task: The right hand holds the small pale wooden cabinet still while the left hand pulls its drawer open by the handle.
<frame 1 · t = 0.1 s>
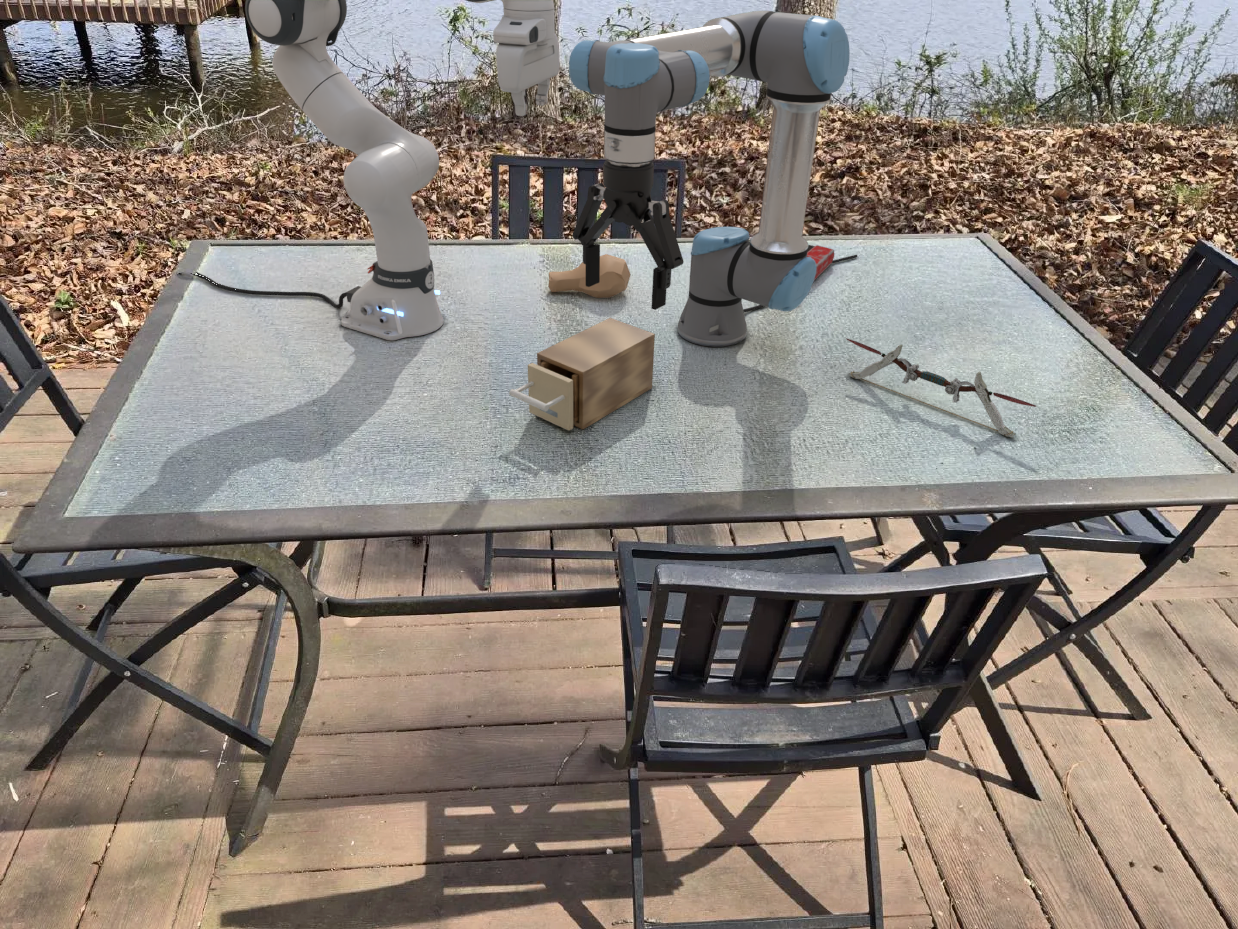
left hand: (531, 109, 161), 48 cm above the table, tool pointing down, fingers open, 8 cm apart
right hand: (624, 295, 141), 28 cm above the table, tool pointing down, fingers open, 13 cm apart
cabinet: (596, 398, 170), on the table
drawer: (574, 383, 162), point 6 cm above the table, slide at 1.9 cm
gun: (781, 275, 225), on the table
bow: (926, 405, 171), on the table
squash: (589, 293, 213), on the table
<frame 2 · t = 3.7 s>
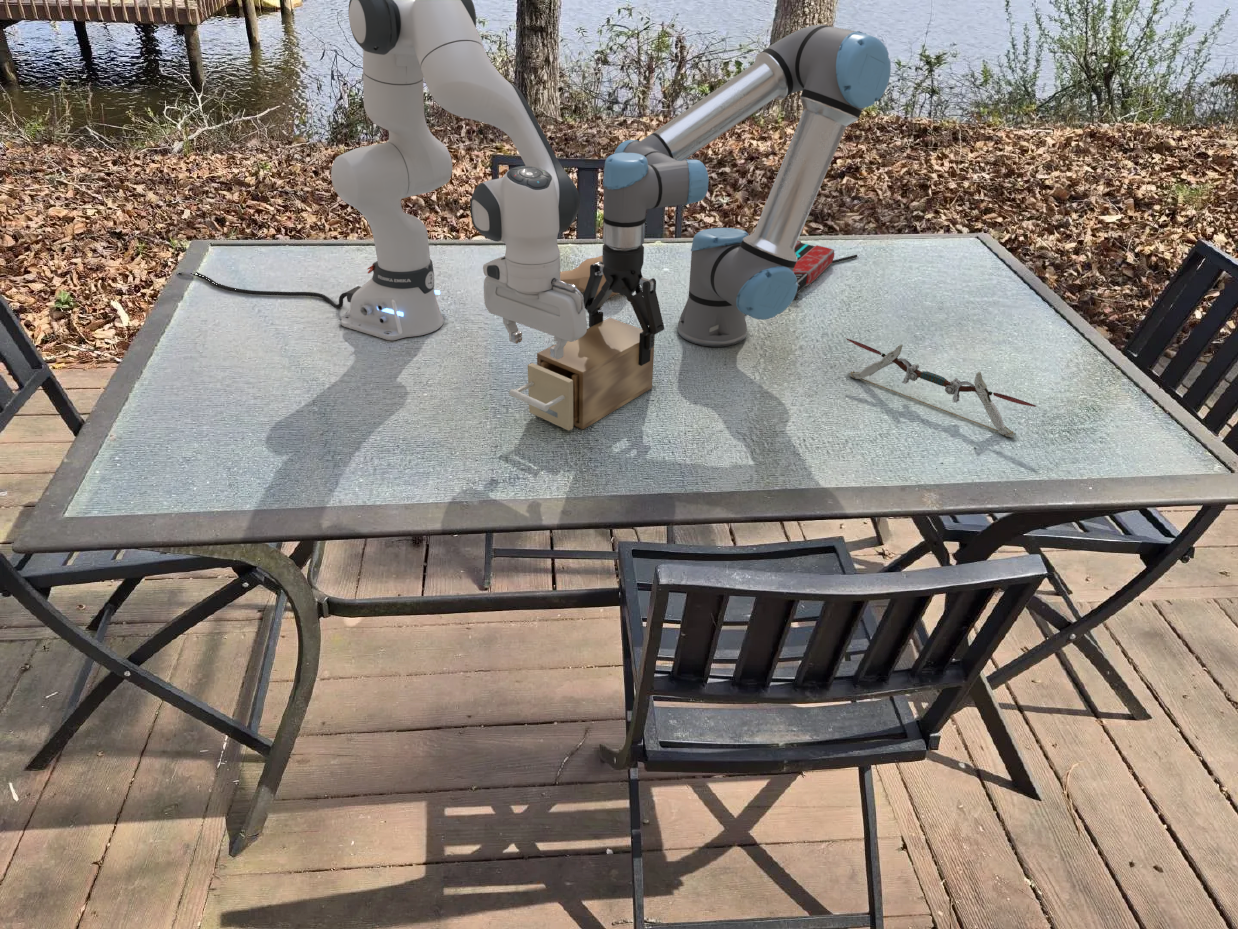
left hand: (536, 349, 150), 16 cm above the table, tool pointing down, fingers open, 8 cm apart
right hand: (620, 353, 170), 7 cm above the table, tool pointing down, fingers closed on cabinet, 11 cm apart
cabinet: (596, 398, 170), on the table, touching right hand
everything else where it was.
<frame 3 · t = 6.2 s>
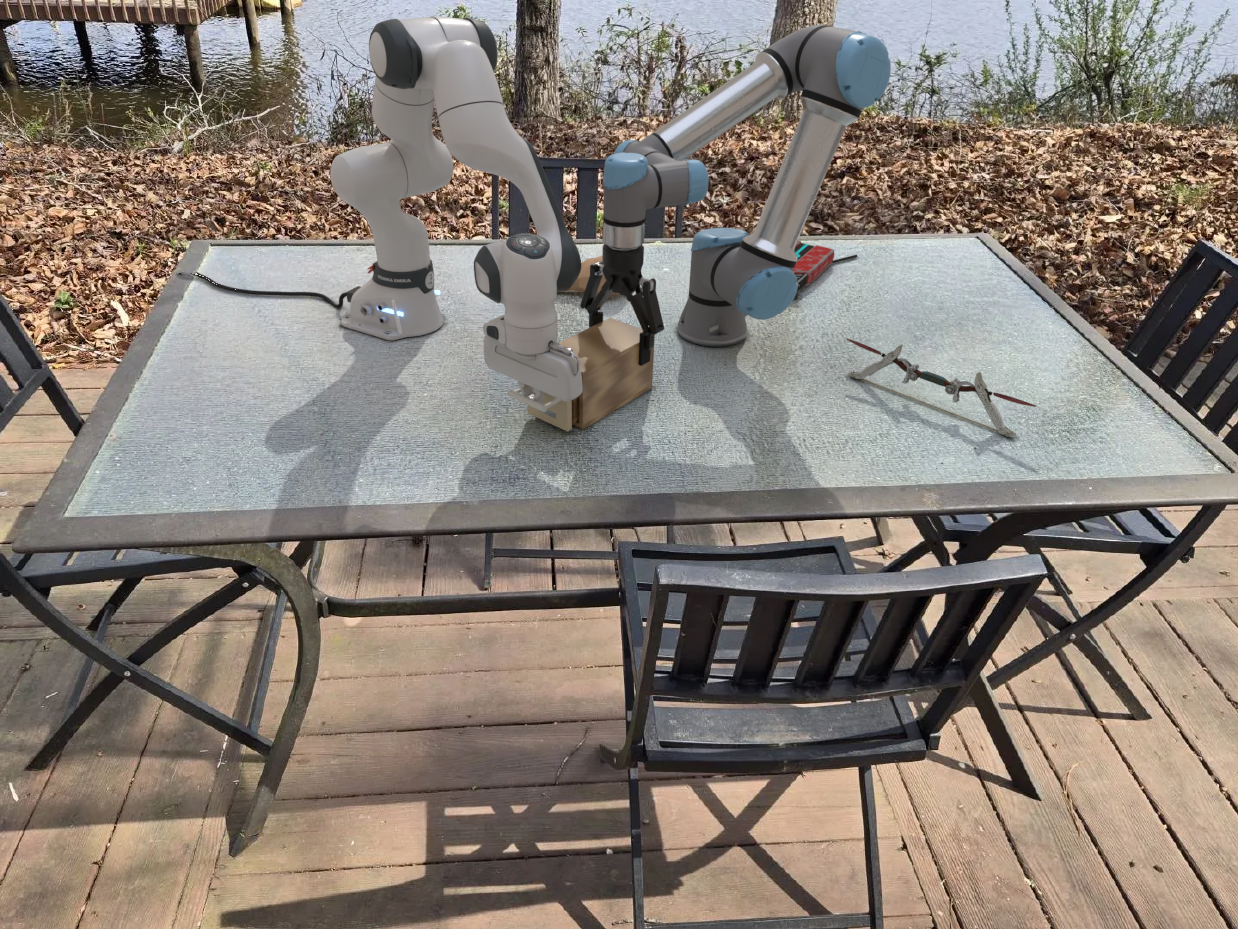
left hand: (533, 405, 155), 6 cm above the table, tool pointing down, fingers closed, pressing on drawer
right hand: (620, 353, 170), 7 cm above the table, tool pointing down, fingers closed on cabinet, 11 cm apart
cabinet: (596, 398, 170), on the table, touching right hand
drawer: (572, 384, 162), point 6 cm above the table, slide at 2.3 cm, touching left hand
everything else where it was.
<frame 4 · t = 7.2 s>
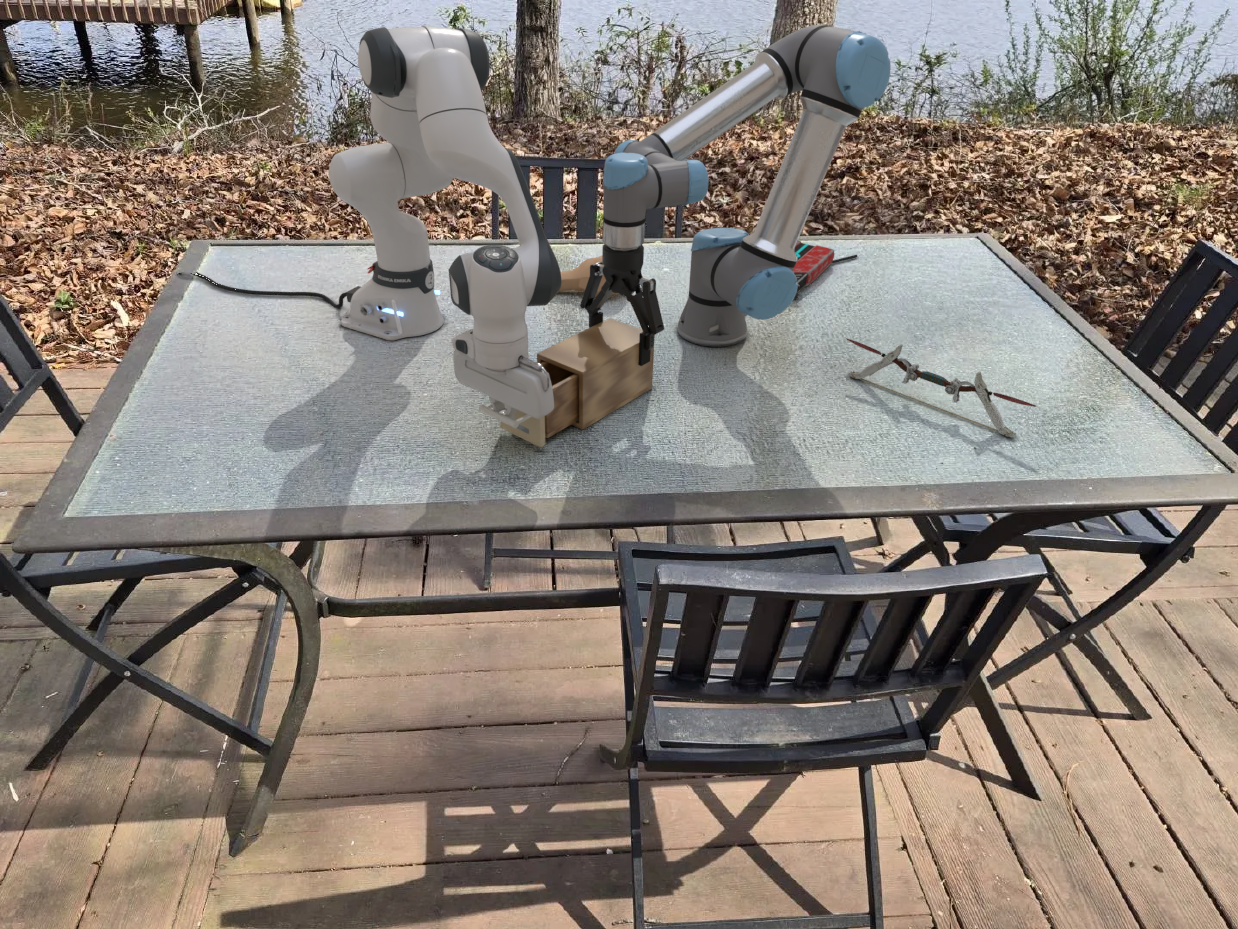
left hand: (505, 420, 150), 6 cm above the table, tool pointing down, fingers closed, pressing on drawer
right hand: (620, 353, 170), 7 cm above the table, tool pointing down, fingers closed on cabinet, 11 cm apart
cabinet: (596, 398, 169), on the table, touching right hand
drawer: (547, 398, 157), point 6 cm above the table, slide at 9.2 cm, touching left hand
everything else where it was.
when the right hand's fingers open (7 cm above the table, at t = 9.1 s): cabinet stays where it is, on the table.
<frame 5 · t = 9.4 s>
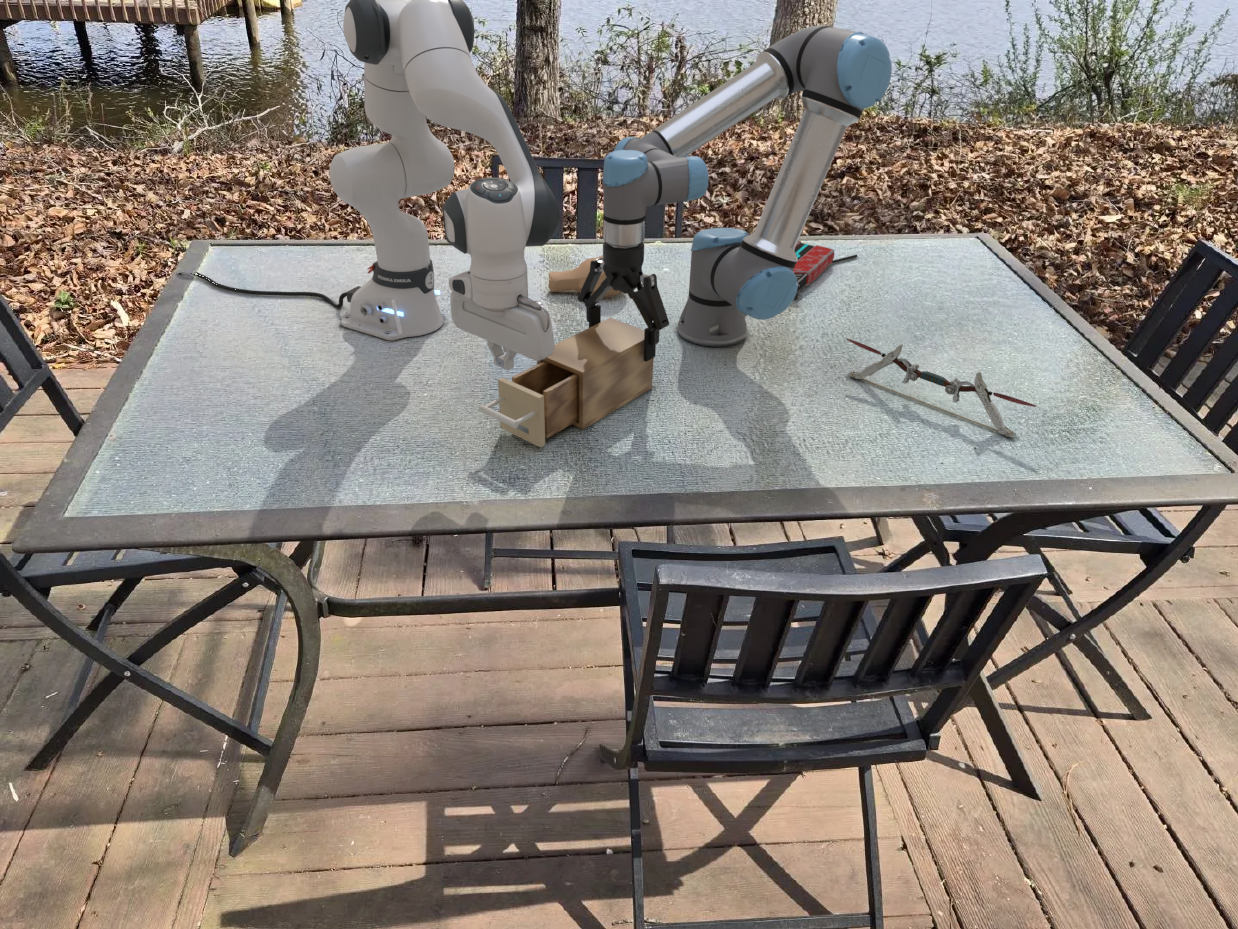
left hand: (504, 366, 145), 16 cm above the table, tool pointing down, fingers closed
right hand: (621, 348, 170), 8 cm above the table, tool pointing down, fingers open, 13 cm apart
cabinet: (596, 398, 169), on the table
drawer: (547, 398, 157), point 6 cm above the table, slide at 9.3 cm
everything else where it was.
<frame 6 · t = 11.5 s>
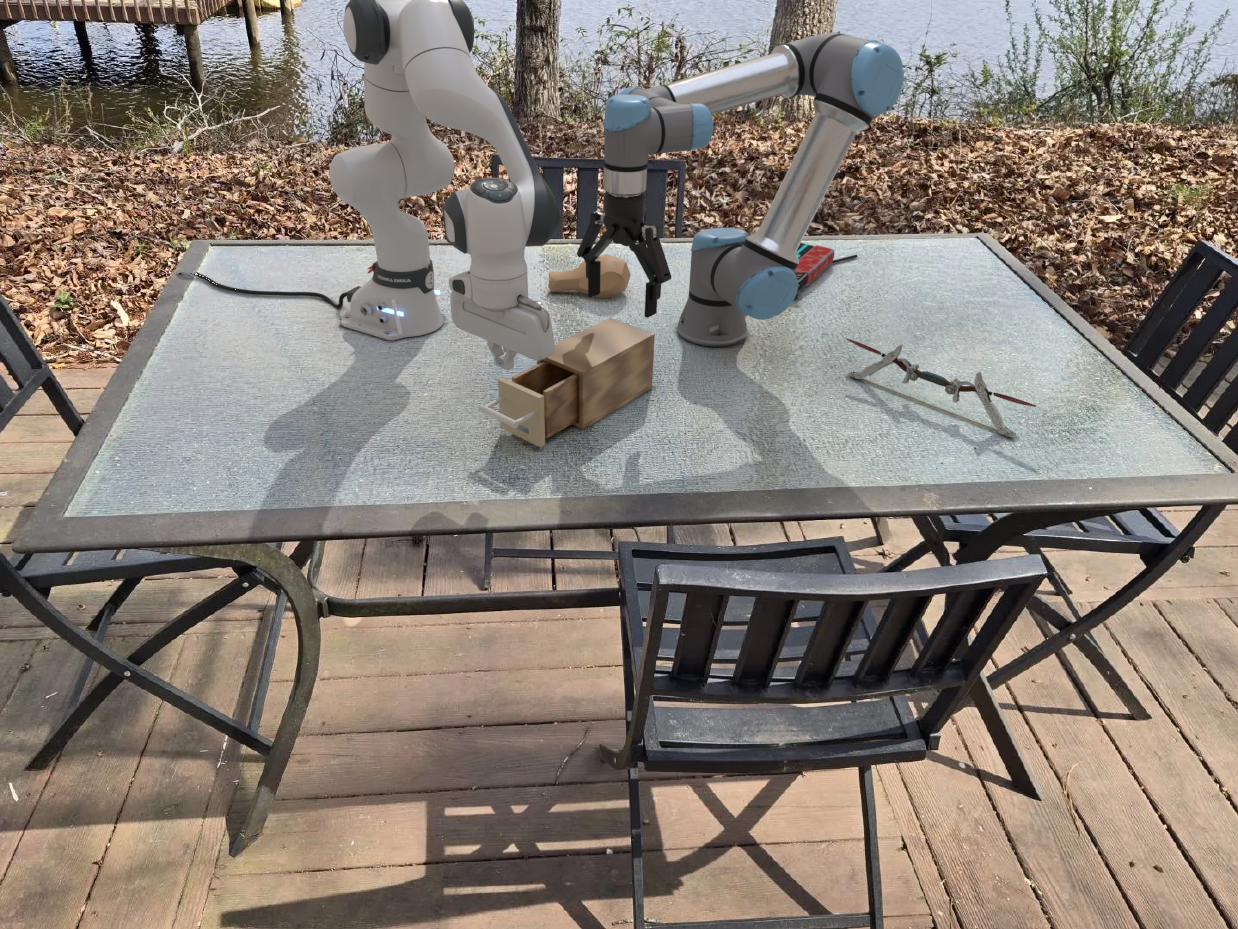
left hand: (504, 366, 145), 16 cm above the table, tool pointing down, fingers closed
right hand: (621, 305, 165), 17 cm above the table, tool pointing down, fingers open, 13 cm apart
nothing on the table moved.
at the end: drawer slide at 9.3 cm; cabinet tilted 0°; cabinet never tilted more than 1° during the clip; cabinet moved 0.0 cm from its start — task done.
